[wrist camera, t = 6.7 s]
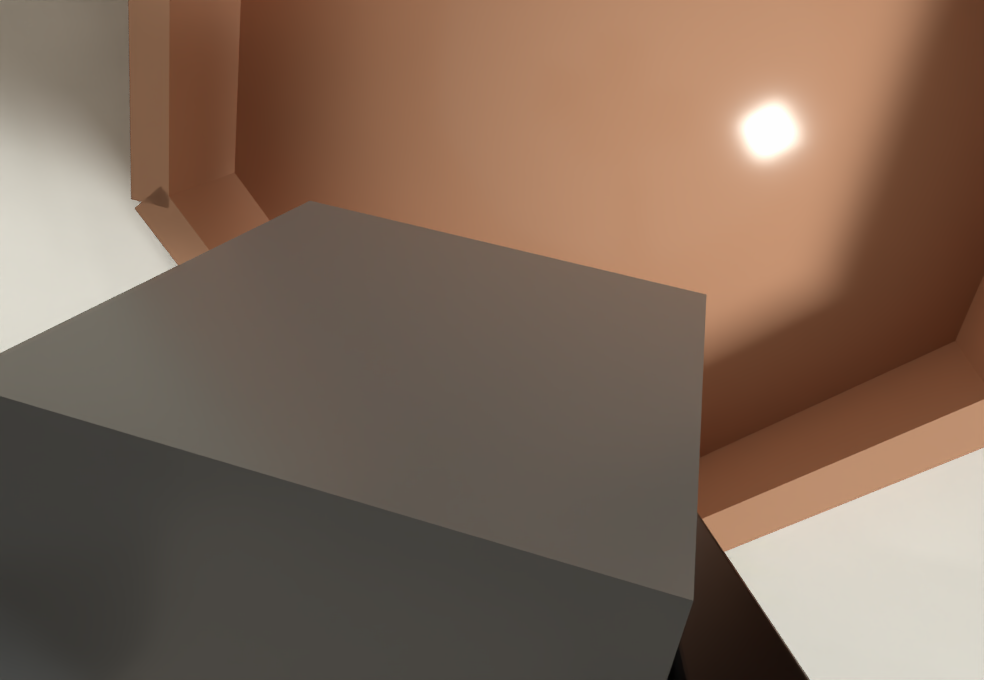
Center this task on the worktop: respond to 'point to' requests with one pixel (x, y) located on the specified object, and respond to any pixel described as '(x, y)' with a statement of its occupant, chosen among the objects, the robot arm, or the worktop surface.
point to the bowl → (634, 188)
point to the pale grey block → (354, 466)
